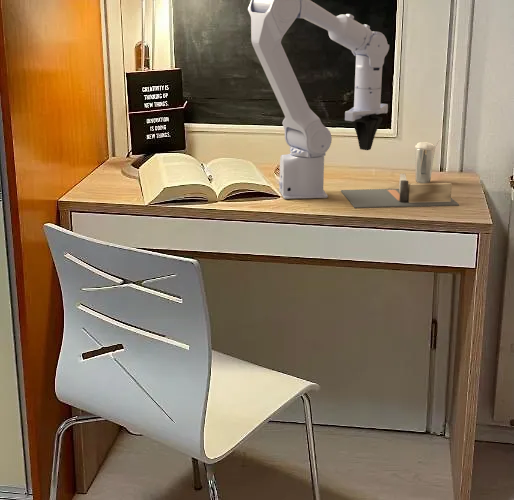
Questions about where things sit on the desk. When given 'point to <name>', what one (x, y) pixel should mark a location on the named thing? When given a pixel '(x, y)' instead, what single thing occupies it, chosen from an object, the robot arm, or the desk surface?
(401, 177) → the fence gate
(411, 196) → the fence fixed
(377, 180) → the desk surface
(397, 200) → the card
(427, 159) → the milkshake
